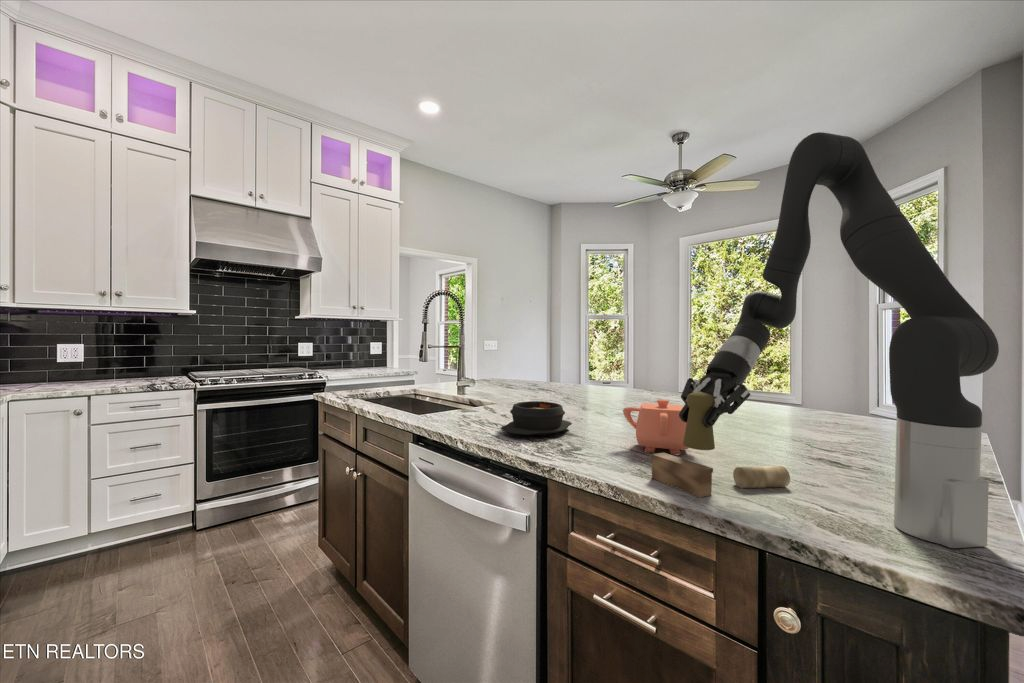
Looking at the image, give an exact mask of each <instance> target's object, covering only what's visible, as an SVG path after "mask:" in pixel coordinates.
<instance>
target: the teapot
mask: <svg viewBox="0 0 1024 683" xmlns="http://www.w3.org/2000/svg"><path fill="white" fill-rule="evenodd" d="M669 402H670V400H668V399H656V403H645V402H643V403H641V404H640V407H634V406H627V407H624V408H623V409H622V412H623V415H624V418H625V419H626V420H627V422H628V423H629V424H630V425H631V426H632V427H633V428H634V429H635V438H636V441H637V444H638V446H640V447H645V448H644V450H643V452H645V451H646V452H645V453H649V452H653V453H656V452H655V451H656V449H667V450H669V453H670V454H671V453H672V454H671V455H673V454H681V455H682V453H681V450H688V449H689V448H688V447H686V446H684V445H683V441H684V435H685V430H686V424H687V422H683V421H682V420H681V419H680V417H679V413H680V411H681V410H682V408H683V407H684V405H678V404H669ZM632 412H638V415H637V420H636V422H635V420H634V419H633V416H632V414H631V413H632Z"/></svg>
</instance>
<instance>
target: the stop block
mask: <svg viewBox="0 0 1024 683" xmlns="http://www.w3.org/2000/svg"><path fill="white" fill-rule="evenodd" d="M651 454H652V456H651V457H652V458H651V479H653V478H654V479H653V480H655V479H656V481H658V482H660V481H661V483H663V484H665V483H666V484H665V485H668V484H669V485H668V486H670V485H672V486H671V487H673V486H674V487H673V488H675V487H677V488H676V489H678V488H679V489H678V490H680V489H682V490H681V491H683V490H684V491H683V492H685V491H687V492H686V493H688V492H689V493H688V494H690V493H691V494H690V495H693V496H695V495H696V496H695V497H698V498H705V497H704V496H706V497H709V495H710V496H712V489H713V488H712V484H713V483H712V482H713V481H712V480H713V479H712V478H713V477H712V476H713V473H714V468H713V467H709V466H707V465H704V464H700V463H697V462H695V461H691V460H688V459H686V458H682V457H679V456H677V455H673V454H671V453H670V454H669V453H666V452H659V453H651Z"/></svg>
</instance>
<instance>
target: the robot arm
mask: <svg viewBox="0 0 1024 683" xmlns="http://www.w3.org/2000/svg"><path fill="white" fill-rule="evenodd" d="M816 185H818V186H824V187H826V188H827V189H829V191H830V192H831V193H832V195H833V196H834V197H835V198H836V200H837V202H838V204H839V205H840V207H841V210H842V216H841V221H840V224H839V225H840V226H839V227H840V228H839V235H840V241H841V243H842V246H843V247H844V249H845V251H846V252H847V253H846V254H848V256H849V258H850V260H851V262H852V263H853V264H854V267H855V268H856V269H857V270H858V271H859V272H860V273H861V274H862V275H863V276H864V277H865V278H867V279H868V281H870V282H871V283H873V284H874V285H875V286H876V287H877V288H879V289H880V290H882V291H883V292H885V293H886V294H887V295H889V296H890V297H891V298H892V299H894V300H895V301H896V302H897V303H898V304H899V305H900V306H901V307H902V309H904V311H905V312H906V313H907V315H908V316H909V319H907V320H904V321H903V322H901V323H900V324H899V325H898V326H897V327H896V328H895V329H894V332H893V334H892V336H891V339H890V343H889V348H888V361H889V362H888V363H889V364H888V366H889V386H890V387H889V388H890V389H889V390H890V396H891V400H892V401H893V403H894V406H895V408H896V426H895V428H896V429H895V433H896V434H895V456H894V457H895V463H894V464H895V466H894V498H893V499H894V502H893V503H894V505H893V508H894V509H893V525H894V526H895V527H896V529H898V530H900V531H901V532H904V533H905V534H908V535H909V536H912V537H915V538H918V539H920V540H924V541H927V542H931V543H935V544H939V545H942V546H945V547H947V548H949V549H962V548H963V549H964V548H978V547H980V548H981V547H983V548H984V547H988V527H989V526H988V525H989V524H988V523H989V495H990V494H989V490H990V489H989V488H990V486H989V485H990V483H989V481H988V480H986V479H984V478H982V477H981V461H982V460H981V459H982V458H981V457H982V456H981V455H982V428H983V427H982V426H983V411H982V409H981V407H979V405H977V404H975V403H973V402H971V401H969V400H968V399H967V398H966V397H965V396H964V394H963V393H962V389H961V377H972V376H978V375H981V374H983V373H985V372H988V371H989V370H990V369H991V368H992V367H993V366H994V365H995V363H996V361H998V360H997V359H998V357H999V351H1000V350H999V348H1000V347H999V342H998V339H997V336H996V334H995V333H994V331H993V330H992V328H991V327H990V326H989V324H988V323H987V322H986V321H985V320H984V318H982V317H981V316H980V314H979V313H978V312H977V311H976V310H975V309H974V308H973V306H971V305H970V304H969V302H968V301H967V300H966V299H965V298H964V297H963V296H962V295H961V294H960V293H959V291H958V290H957V289H956V288H955V287H954V285H953V284H952V283H951V282H950V281H949V279H948V278H947V276H946V275H945V273H944V271H943V270H942V269H941V267H940V266H939V264H938V263H937V262H936V260H935V258H934V257H933V255H932V254H931V253H930V252H929V250H928V249H927V248H926V246H925V244H924V243H923V242H922V240H921V238H920V237H919V235H918V233H917V231H916V230H915V228H914V227H913V226H912V225H911V223H910V222H909V220H908V219H907V217H906V216H905V214H904V213H903V212H902V211H901V209H900V208H899V207H898V205H897V204H896V202H895V201H894V199H893V198H892V196H891V195H890V194H889V192H888V191H887V189H886V188H885V186H884V185H883V184H882V183H881V181H880V179H879V177H878V175H877V173H876V171H875V169H874V166H873V165H872V163H871V160H870V159H869V155H868V154H867V152H866V150H865V148H864V146H863V145H862V144H861V143H860V142H859V141H858V140H856V139H855V138H853V137H850V136H846V135H840V134H835V133H830V132H824V131H823V132H822V131H817V132H812V133H810V134H807V135H806V136H804V137H803V138H802V139H801V140H800V141H799V142H798V144H796V146H795V148H794V150H793V152H792V154H791V156H790V159H789V163H788V167H787V172H786V177H785V181H784V188H783V194H782V200H781V206H780V212H779V216H778V223H777V227H776V232H775V236H774V240H773V243H772V246H771V249H770V252H769V254H768V256H767V257H768V258H767V259H766V263H765V266H764V269H763V272H762V278H763V280H764V281H766V282H768V283H770V284H772V285H774V286H776V287H777V289H779V291H780V295H779V294H774V293H771V292H767V291H763V290H754V291H751V292H750V293H748V294H747V295H746V296H745V298H744V300H743V303H742V309H741V313H740V315H739V316H740V317H739V319H738V322H737V325H736V326H735V328H734V329H733V330H732V332H731V334H730V335H729V337H727V339H726V340H725V341H724V342H723V344H722V345H720V347H719V350H718V351H717V352H716V353H715V355H714V356H713V358H712V359H711V361H710V363H709V364H708V365H707V367H706V372H705V375H704V376H702V377H701V378H700V379H699V380H694V379H693V378H692V377H689V378H688V379H687V380H686V382H685V386H684V388H683V390H682V393H681V394H680V398H681V400H682V401H683V403H684V405H683V408H682V410H681V411H680V413H679V417H680V419H681V420H682V421H683V422H687V418H688V413H689V407H688V405H687V396H688V395H689V394H690V393H694V392H703V393H708V394H710V395H712V396H713V398H714V402H713V408H712V407H710V409H709V410H708V412H707V413H706V415H705V416H704V418H703V419H702V423H703V424H704V426H705V427H707V428H710V427H711V426H714V425H715V423H716V422H717V421H718V419H719V417H720V416H722V415H724V414H728V415H733V414H734V413H735V411H737V410H738V409H739V408H740V407H741V405H742V404H743V403H745V401H747V399H748V398H749V397H750V396H751V393H750V391H749V389H748V388H747V386H746V385H745V384H744V383H745V381H746V380H747V378H748V376H749V375H750V374H751V371H752V370H753V368H754V367H755V365H756V364H757V362H758V359H759V358H760V355H761V354H762V353H763V351H764V349H765V348H766V345H767V344H768V342H769V340H770V339H771V332H770V329H769V328H768V327H771V328H775V329H780V330H781V329H786V328H787V327H788V326H790V325H791V324H792V323H793V321H794V320H795V317H796V313H797V297H798V296H797V294H798V286H799V282H800V278H801V276H802V273H803V269H804V267H805V265H806V262H807V260H808V257H809V255H810V249H811V243H812V242H811V241H812V240H811V238H812V237H811V228H810V221H809V218H810V217H809V208H810V202H811V197H812V195H813V191H814V189H815V186H816Z"/></svg>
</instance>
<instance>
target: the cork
mask: <svg viewBox="0 0 1024 683" xmlns="http://www.w3.org/2000/svg"><path fill="white" fill-rule="evenodd" d="M713 402H714V398H713V396H712V395H710V394H708V393H703V392H694V393H690V394H689V395H688V396H687V405H688V407H689V413H688V418H687V424H686V430H685V435H684V441H683V445H684V446H686V447H688V449H693V450H698V451H714V449H716V446H715V436H714V427H713V426H714V425H713V426H711V427H710V428H707V427H705V426H704V424H703V423H702V419H703V418H704V416H705V415H706V413H707V412H708V410H709V409H710V407H712V408H713Z"/></svg>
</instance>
